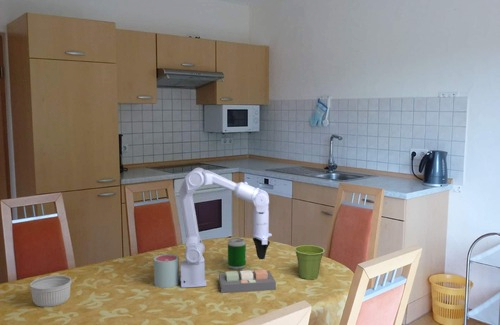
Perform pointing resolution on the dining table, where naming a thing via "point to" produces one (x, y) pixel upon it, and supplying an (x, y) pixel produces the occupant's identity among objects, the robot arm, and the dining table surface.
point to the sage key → (232, 276)
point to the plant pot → (309, 260)
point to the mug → (166, 271)
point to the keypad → (246, 284)
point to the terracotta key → (260, 274)
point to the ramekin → (50, 290)
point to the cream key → (246, 275)
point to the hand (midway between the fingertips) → (260, 257)
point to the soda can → (236, 254)
